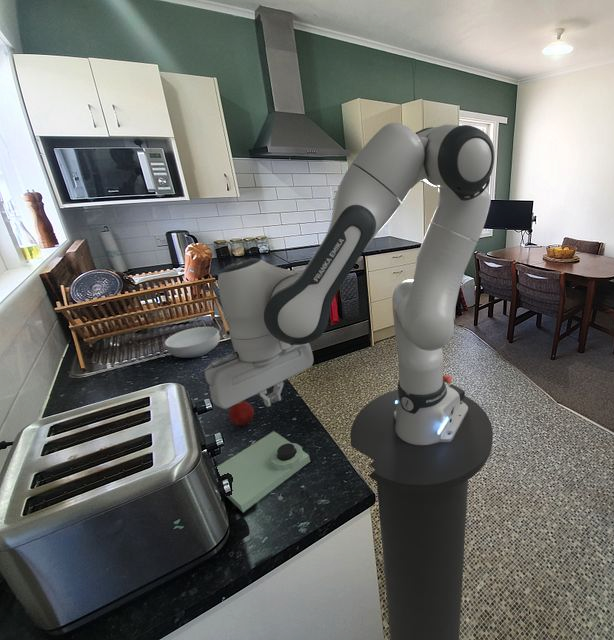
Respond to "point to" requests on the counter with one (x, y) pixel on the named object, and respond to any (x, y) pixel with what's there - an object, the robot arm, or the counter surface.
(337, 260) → the robot arm
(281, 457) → the button
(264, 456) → the scale
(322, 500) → the counter surface
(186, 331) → the cereal bowl
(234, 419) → the onion
